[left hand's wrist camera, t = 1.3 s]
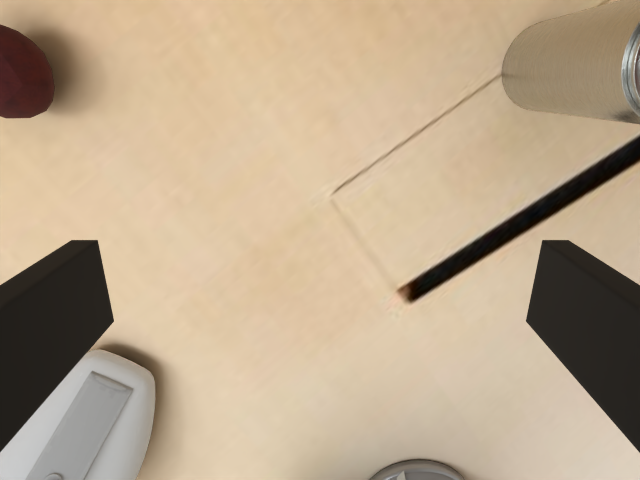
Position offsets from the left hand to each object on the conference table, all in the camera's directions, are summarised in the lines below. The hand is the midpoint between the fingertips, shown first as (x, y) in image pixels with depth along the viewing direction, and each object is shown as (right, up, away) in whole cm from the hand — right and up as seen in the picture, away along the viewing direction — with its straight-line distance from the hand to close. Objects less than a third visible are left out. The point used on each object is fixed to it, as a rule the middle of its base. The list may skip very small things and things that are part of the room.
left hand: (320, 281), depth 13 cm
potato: (-27, +17, +26) cm, 41 cm away
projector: (-29, -21, +41) cm, 54 cm away
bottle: (+21, +17, +26) cm, 38 cm away
